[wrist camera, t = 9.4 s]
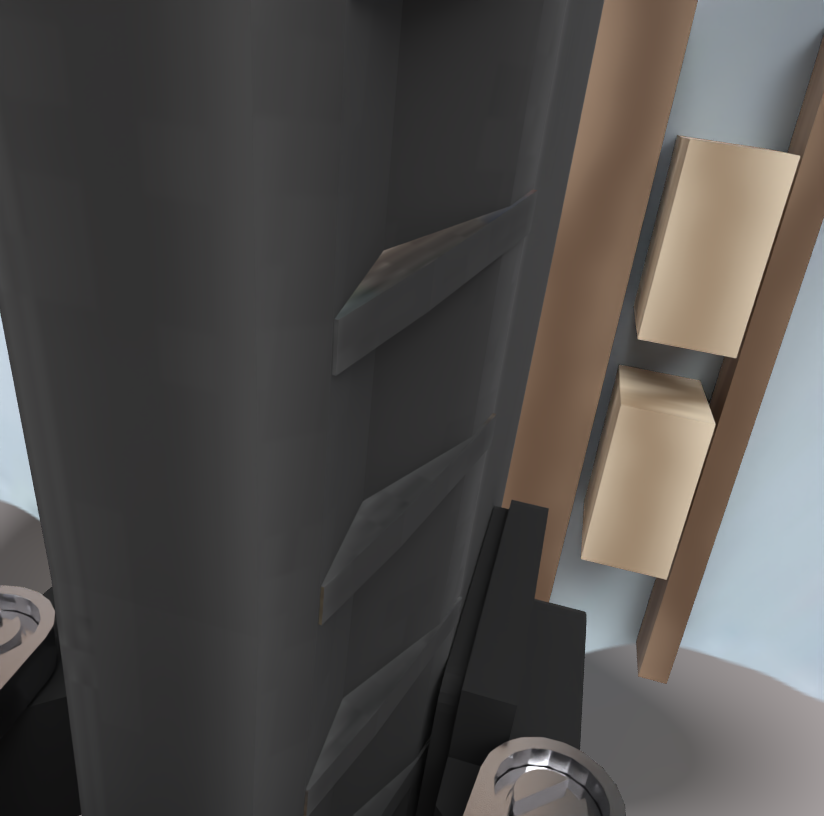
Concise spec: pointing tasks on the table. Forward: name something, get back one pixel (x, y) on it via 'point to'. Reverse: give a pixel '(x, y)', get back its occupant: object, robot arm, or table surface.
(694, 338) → the offcut
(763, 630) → the table surface
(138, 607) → the magazine
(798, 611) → the table surface
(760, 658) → the table surface
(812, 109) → the rack
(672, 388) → the offcut
